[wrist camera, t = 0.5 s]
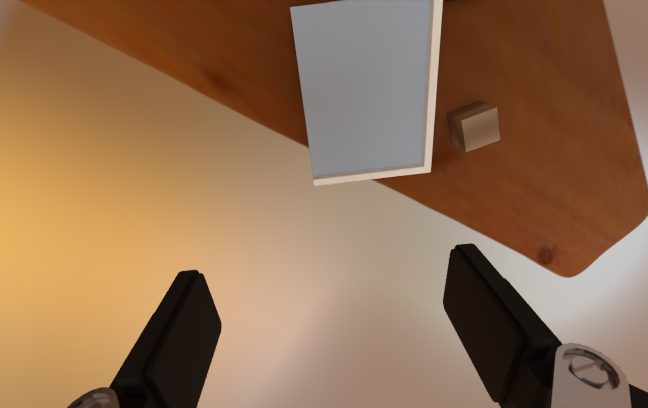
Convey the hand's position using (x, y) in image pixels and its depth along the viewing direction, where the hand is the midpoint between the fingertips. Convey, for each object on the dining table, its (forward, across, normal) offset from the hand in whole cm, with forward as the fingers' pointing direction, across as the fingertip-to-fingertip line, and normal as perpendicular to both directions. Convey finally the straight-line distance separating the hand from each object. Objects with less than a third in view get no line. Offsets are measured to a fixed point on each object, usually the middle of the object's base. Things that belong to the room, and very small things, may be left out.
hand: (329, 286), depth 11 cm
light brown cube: (+28, -19, +2) cm, 34 cm away
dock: (+28, -6, -3) cm, 29 cm away
